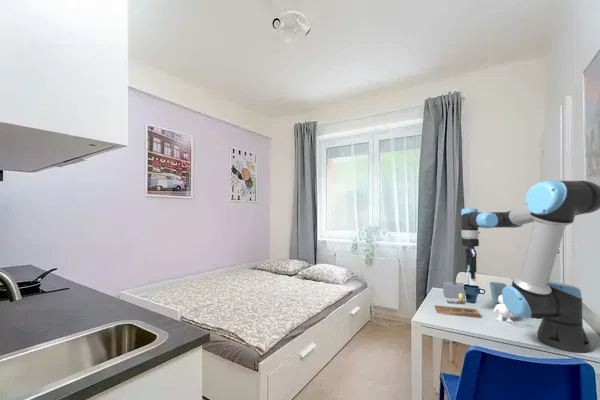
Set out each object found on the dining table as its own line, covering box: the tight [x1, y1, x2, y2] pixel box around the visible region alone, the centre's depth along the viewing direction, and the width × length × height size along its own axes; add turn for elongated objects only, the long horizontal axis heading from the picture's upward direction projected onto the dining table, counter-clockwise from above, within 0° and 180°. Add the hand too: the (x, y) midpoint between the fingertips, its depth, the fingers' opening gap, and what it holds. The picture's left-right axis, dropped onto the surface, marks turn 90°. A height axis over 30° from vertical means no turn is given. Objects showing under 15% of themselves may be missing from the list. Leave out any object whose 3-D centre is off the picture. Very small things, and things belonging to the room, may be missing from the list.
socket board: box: [434, 305, 481, 319], centre depth 142 cm, size 8×19×2 cm, turn 72°
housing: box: [442, 281, 466, 300], centre depth 168 cm, size 8×11×8 cm
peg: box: [467, 265, 476, 287], centre depth 144 cm, size 3×3×10 cm
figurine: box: [493, 295, 513, 323], centre depth 132 cm, size 8×5×12 cm, turn 60°
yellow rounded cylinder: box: [446, 293, 466, 305], centre depth 157 cm, size 4×8×5 cm, turn 73°
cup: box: [489, 281, 507, 305], centre depth 157 cm, size 8×8×10 cm
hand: (471, 283), depth 144 cm, fingers closed on peg, 3 cm apart
